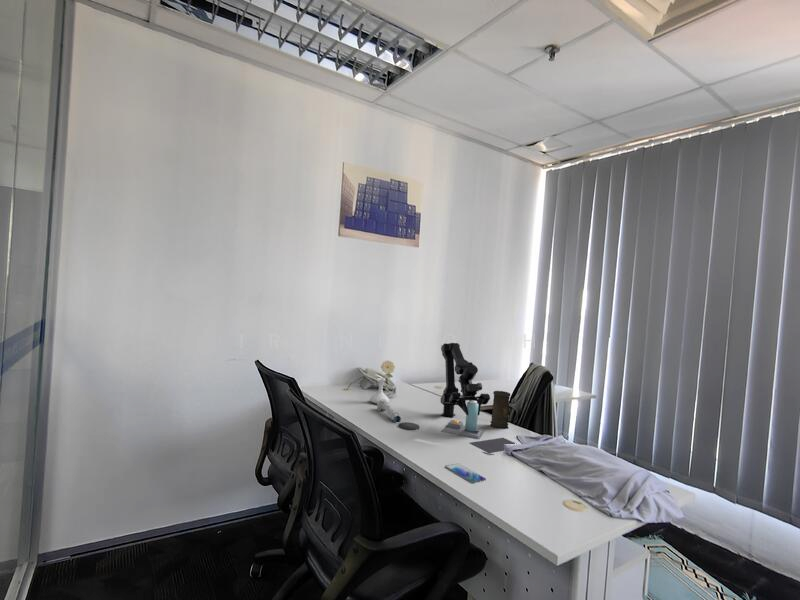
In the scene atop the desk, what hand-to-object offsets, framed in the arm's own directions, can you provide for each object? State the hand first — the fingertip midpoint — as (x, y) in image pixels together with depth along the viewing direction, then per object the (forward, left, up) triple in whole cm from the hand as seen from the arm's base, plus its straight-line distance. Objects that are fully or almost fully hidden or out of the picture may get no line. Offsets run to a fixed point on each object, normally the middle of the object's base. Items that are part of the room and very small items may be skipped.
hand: (473, 414), depth 192 cm
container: (-23, +9, -11) cm, 27 cm away
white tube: (-8, -45, -11) cm, 47 cm away
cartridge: (-1, -1, -7) cm, 7 cm away
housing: (-4, -5, -10) cm, 12 cm away
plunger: (-8, -10, -9) cm, 16 cm away
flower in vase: (-29, -59, -11) cm, 66 cm away
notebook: (+7, +12, -11) cm, 18 cm away
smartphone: (+42, +6, -11) cm, 44 cm away
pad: (+3, -30, -10) cm, 32 cm away
